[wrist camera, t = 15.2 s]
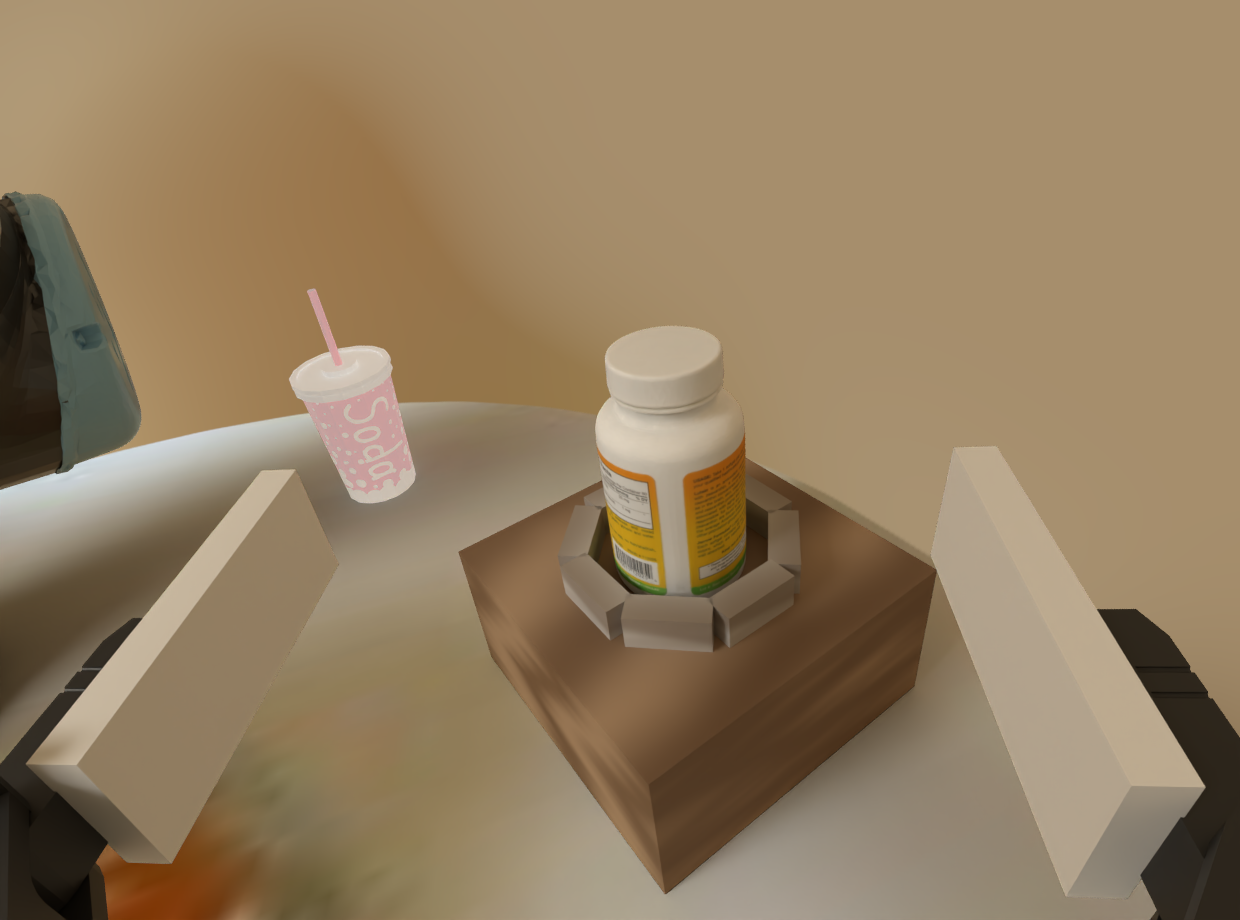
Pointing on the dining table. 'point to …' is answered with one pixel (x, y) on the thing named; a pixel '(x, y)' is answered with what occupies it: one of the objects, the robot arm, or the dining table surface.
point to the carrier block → (701, 661)
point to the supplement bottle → (672, 464)
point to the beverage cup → (357, 415)
